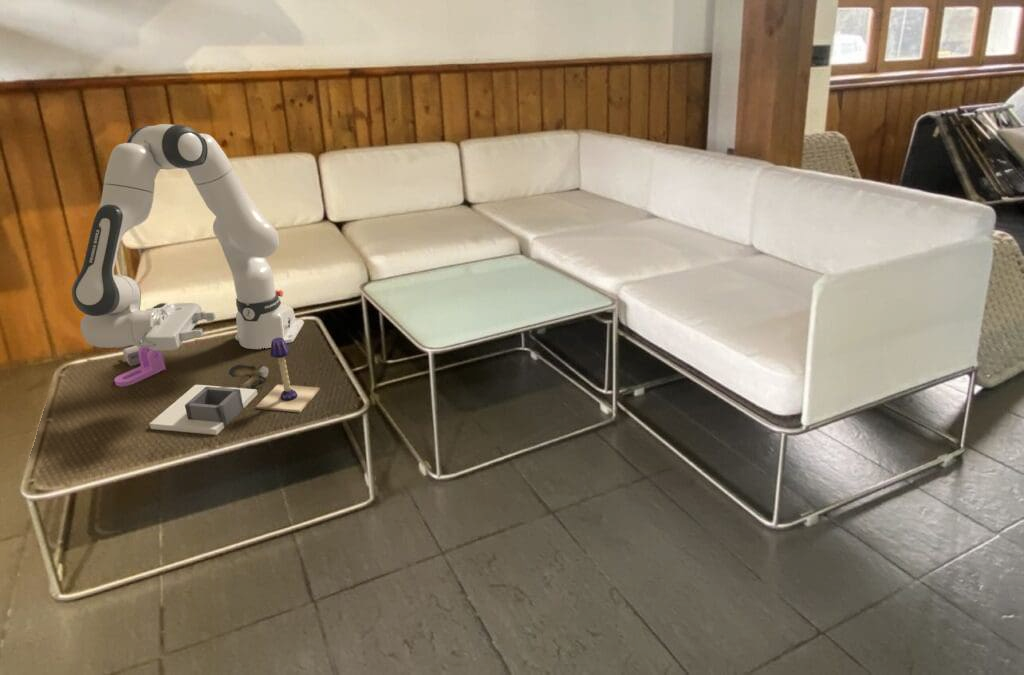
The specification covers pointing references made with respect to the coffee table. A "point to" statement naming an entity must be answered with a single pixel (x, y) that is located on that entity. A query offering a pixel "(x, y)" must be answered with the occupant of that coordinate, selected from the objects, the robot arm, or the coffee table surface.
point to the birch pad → (295, 405)
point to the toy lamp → (283, 367)
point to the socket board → (204, 409)
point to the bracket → (143, 367)
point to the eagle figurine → (249, 374)
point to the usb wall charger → (131, 355)
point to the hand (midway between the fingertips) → (208, 324)
